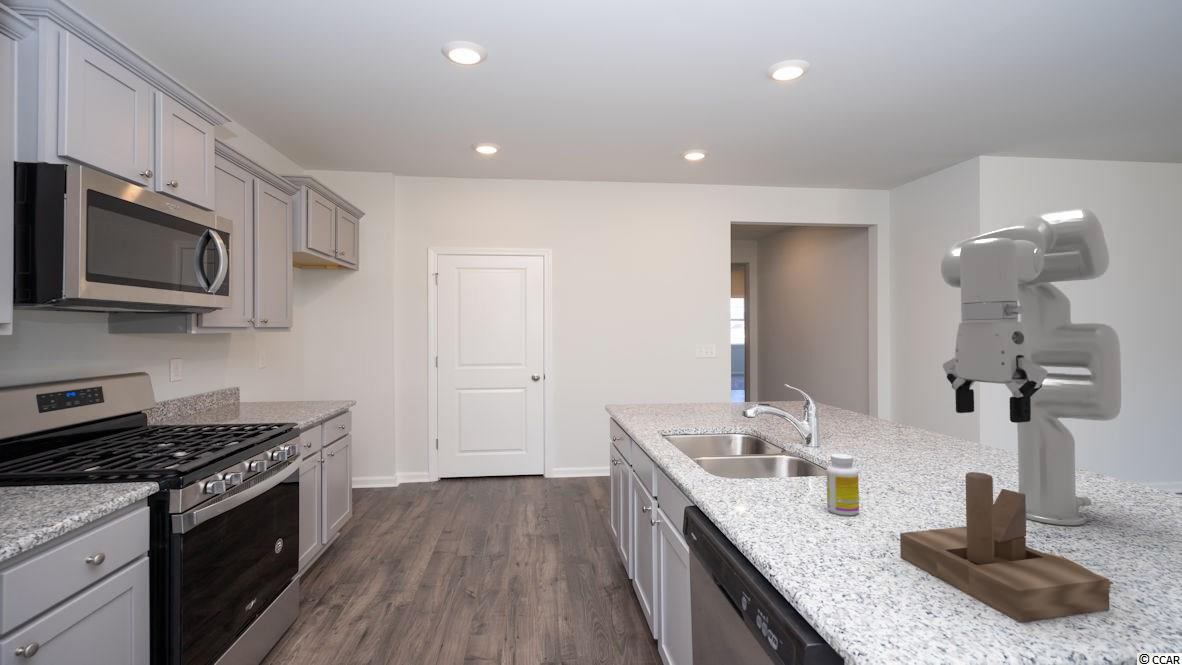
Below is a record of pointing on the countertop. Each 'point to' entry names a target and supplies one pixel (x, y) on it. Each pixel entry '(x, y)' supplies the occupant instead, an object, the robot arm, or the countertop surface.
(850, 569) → the countertop surface
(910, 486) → the countertop surface
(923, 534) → the slotted crossbeam
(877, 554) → the countertop surface
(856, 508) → the supplement bottle
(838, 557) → the countertop surface
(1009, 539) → the wooden block
